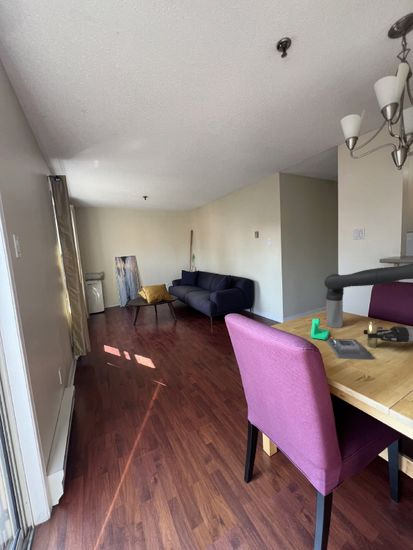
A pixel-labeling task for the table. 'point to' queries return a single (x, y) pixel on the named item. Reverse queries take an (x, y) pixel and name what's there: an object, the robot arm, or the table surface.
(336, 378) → the table surface
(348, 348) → the dock
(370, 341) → the brass cylinder peg
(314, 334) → the camera mount
